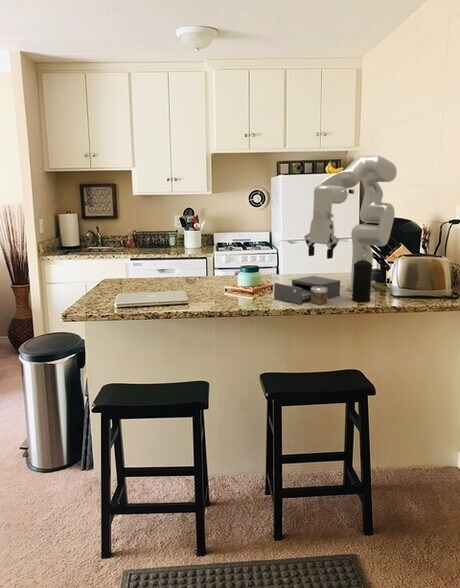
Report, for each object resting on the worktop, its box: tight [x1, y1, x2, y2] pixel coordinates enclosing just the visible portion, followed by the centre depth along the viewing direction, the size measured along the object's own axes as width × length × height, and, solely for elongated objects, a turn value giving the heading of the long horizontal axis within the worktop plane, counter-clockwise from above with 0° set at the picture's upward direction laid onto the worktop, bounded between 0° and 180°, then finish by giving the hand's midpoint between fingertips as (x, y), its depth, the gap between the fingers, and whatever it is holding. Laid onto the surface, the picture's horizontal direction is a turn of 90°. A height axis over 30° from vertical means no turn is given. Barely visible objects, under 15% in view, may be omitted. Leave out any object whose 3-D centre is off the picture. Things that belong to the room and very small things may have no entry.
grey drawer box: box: [291, 275, 341, 299], centre depth 238 cm, size 15×16×7 cm
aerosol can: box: [351, 255, 374, 303], centre depth 226 cm, size 8×8×20 cm
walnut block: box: [309, 292, 328, 305], centre depth 223 cm, size 5×5×5 cm
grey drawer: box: [273, 282, 311, 305], centre depth 229 cm, size 16×15×7 cm
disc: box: [311, 286, 328, 293], centre depth 222 cm, size 7×7×2 cm
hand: (320, 257), depth 219 cm, fingers open, 9 cm apart
